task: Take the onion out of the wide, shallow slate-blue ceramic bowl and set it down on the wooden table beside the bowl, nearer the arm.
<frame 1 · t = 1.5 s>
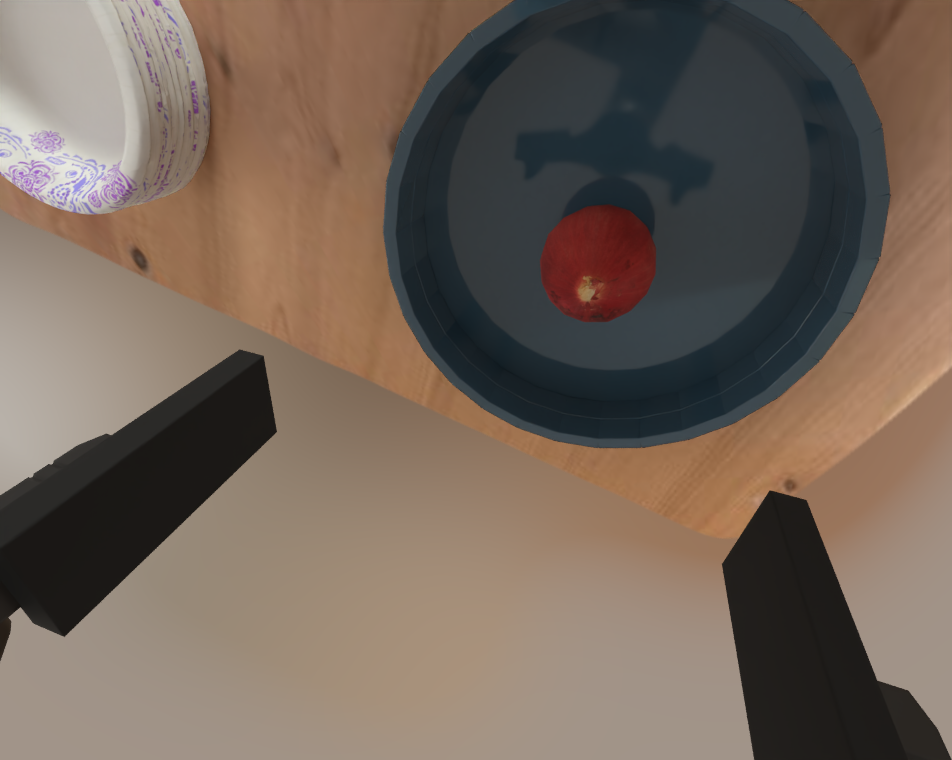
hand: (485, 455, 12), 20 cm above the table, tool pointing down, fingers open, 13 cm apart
bowl: (602, 242, 28), on the table
paper bowls: (144, 62, 30), on the table
onion: (602, 242, 28), resting on bowl
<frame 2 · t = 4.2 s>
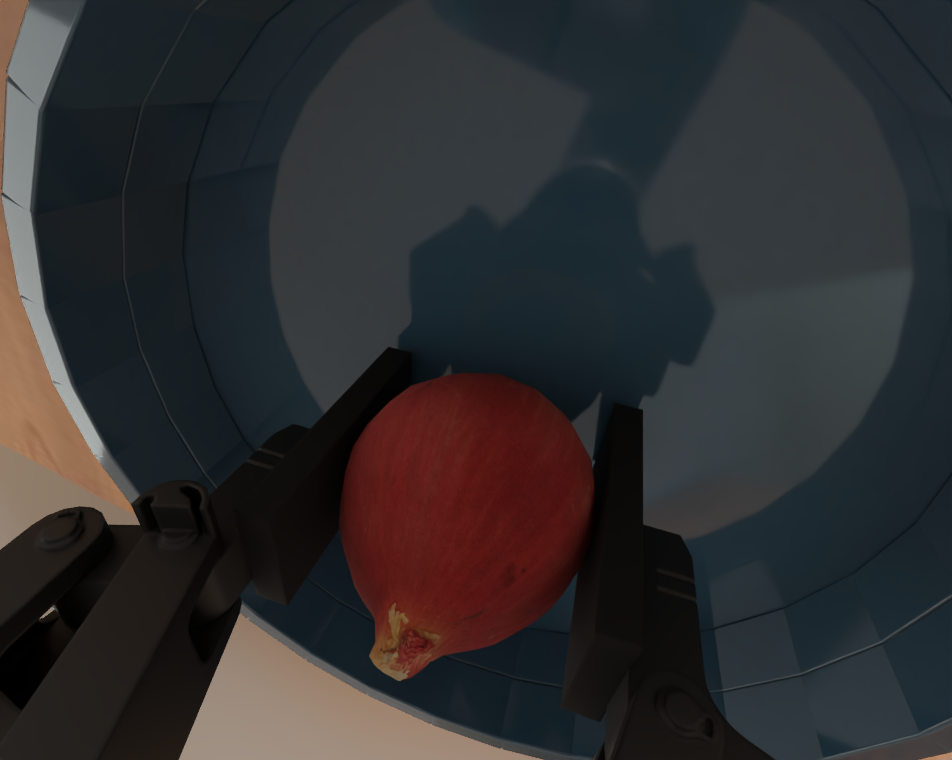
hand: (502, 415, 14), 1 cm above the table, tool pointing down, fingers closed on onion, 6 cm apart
bowl: (508, 403, 14), on the table
onion: (507, 404, 14), resting on bowl, touching gripper
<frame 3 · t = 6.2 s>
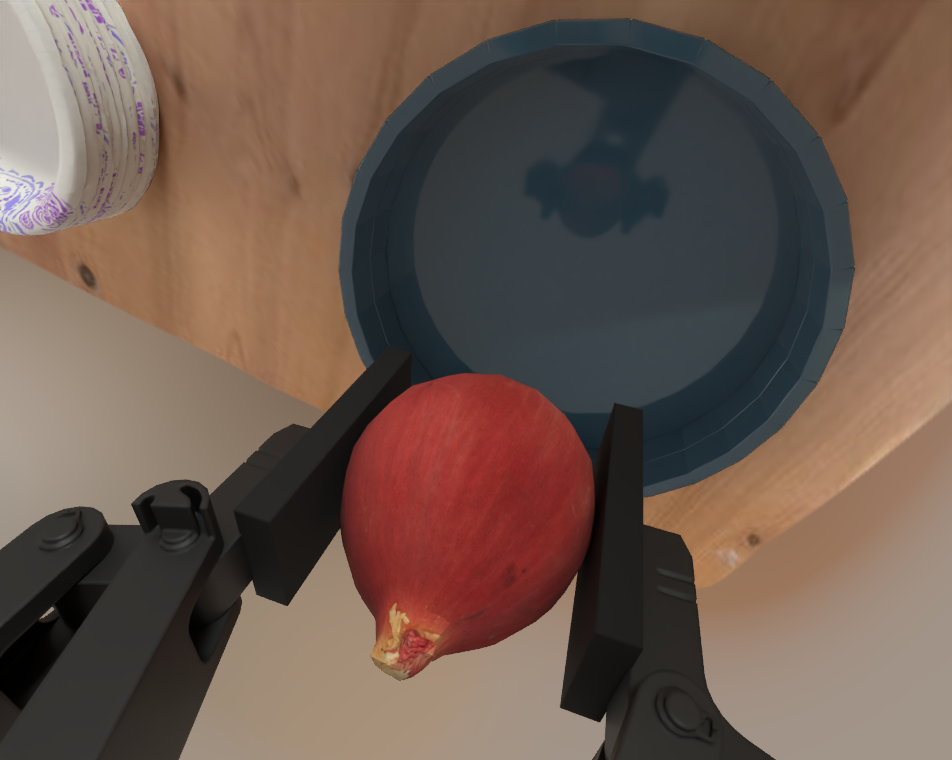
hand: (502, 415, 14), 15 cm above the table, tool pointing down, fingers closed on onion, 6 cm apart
bowl: (568, 289, 27), on the table
paper bowls: (93, 76, 28), on the table
onion: (507, 404, 14), point 14 cm above the table, touching gripper
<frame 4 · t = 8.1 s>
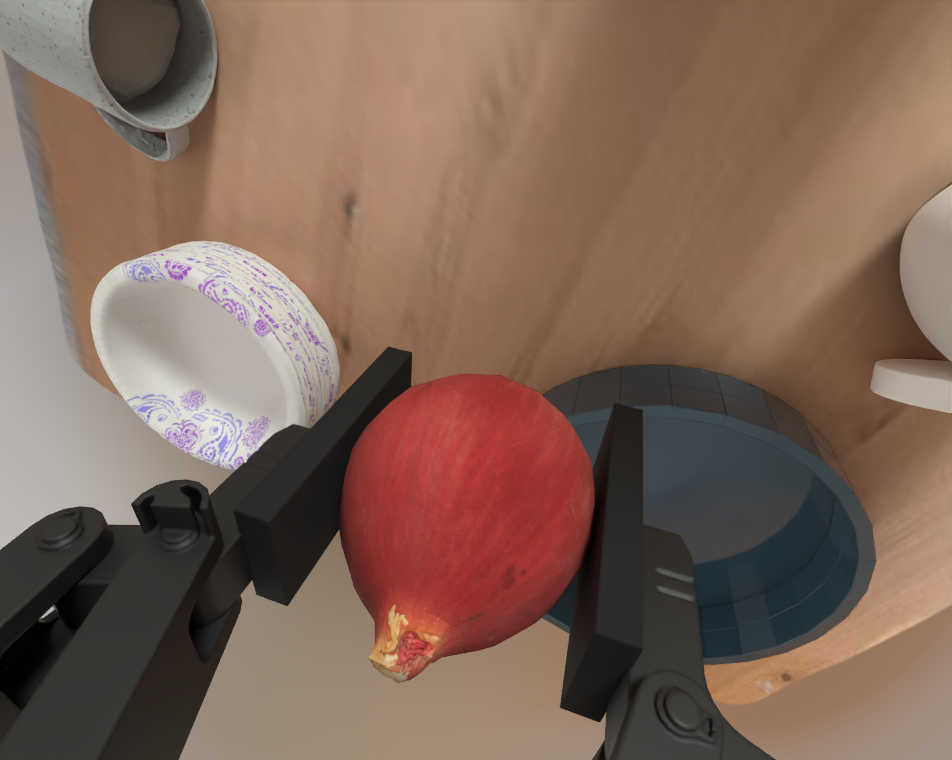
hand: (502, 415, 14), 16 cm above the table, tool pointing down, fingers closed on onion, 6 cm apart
bowl: (649, 505, 35), on the table
paper bowls: (272, 326, 36), on the table
ceramic mug: (167, 59, 28), on the table
onion: (507, 405, 14), point 15 cm above the table, touching gripper
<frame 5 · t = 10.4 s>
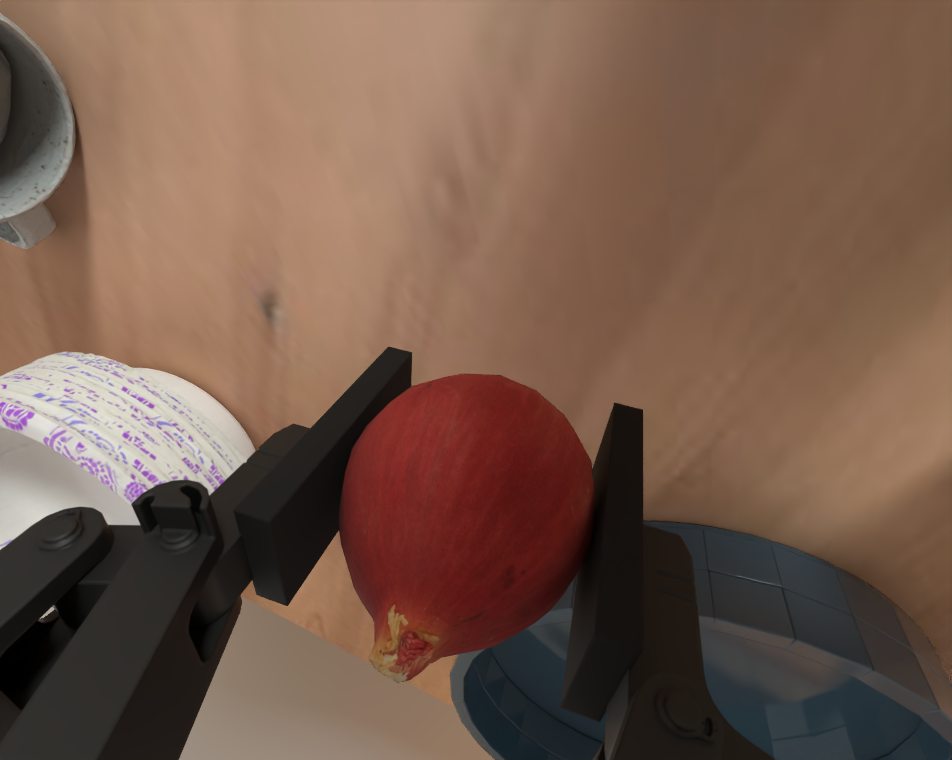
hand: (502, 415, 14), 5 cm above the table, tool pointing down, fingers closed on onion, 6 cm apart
bowl: (672, 669, 27), on the table
paper bowls: (194, 434, 29), on the table
ceramic mug: (14, 115, 20), on the table
onion: (507, 405, 14), point 5 cm above the table, touching gripper
when the fingers open (0 cm above the table, at t = 12.1 s): onion stays where it is, on the table.
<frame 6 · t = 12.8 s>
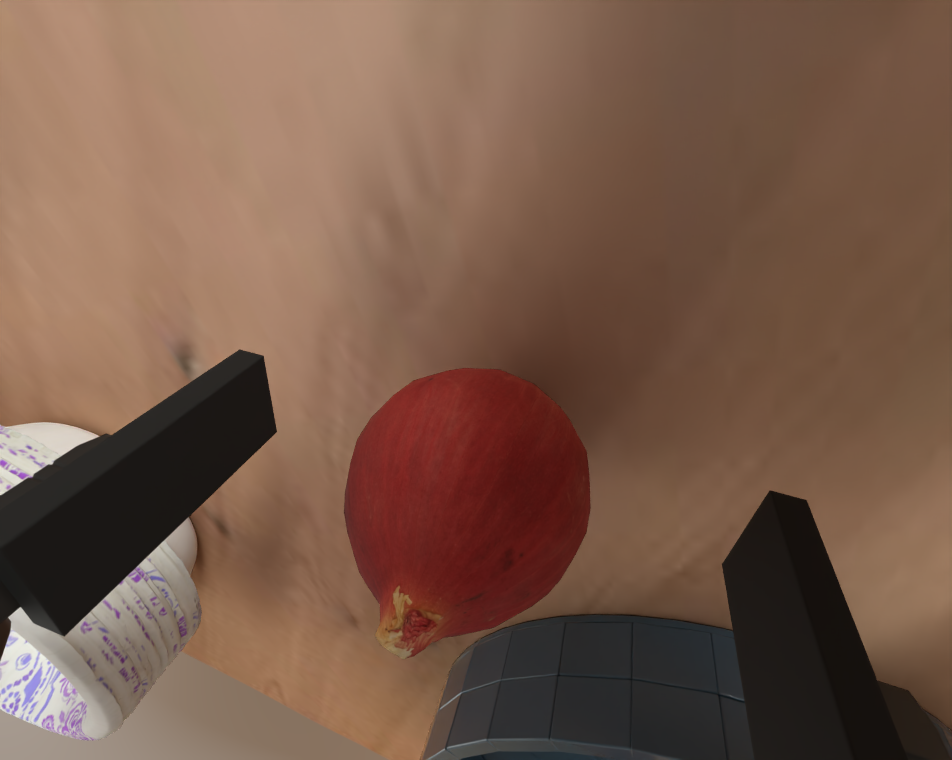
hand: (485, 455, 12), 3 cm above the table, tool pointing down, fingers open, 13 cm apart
paper bowls: (121, 492, 25), on the table
onion: (506, 400, 15), on the table
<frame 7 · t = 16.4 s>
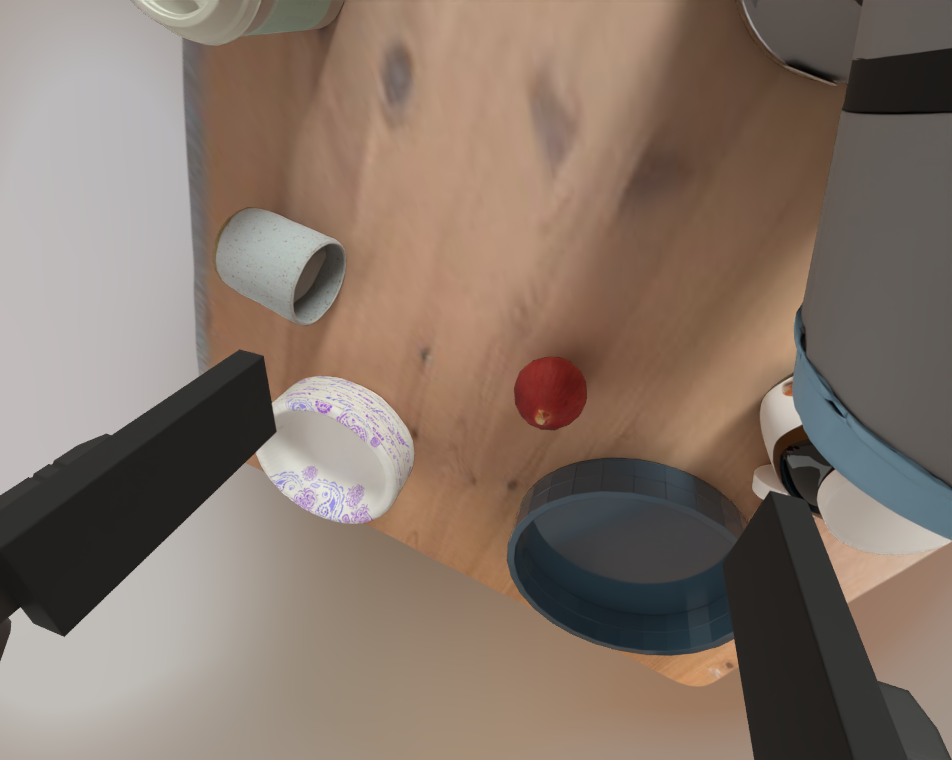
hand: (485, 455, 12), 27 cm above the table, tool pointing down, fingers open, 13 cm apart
bowl: (626, 545, 50), on the table
paper bowls: (361, 419, 52), on the table
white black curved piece: (819, 419, 37), on the table
ceramic mug: (309, 265, 43), on the table
onion: (557, 369, 41), on the table
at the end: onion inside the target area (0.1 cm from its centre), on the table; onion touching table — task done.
